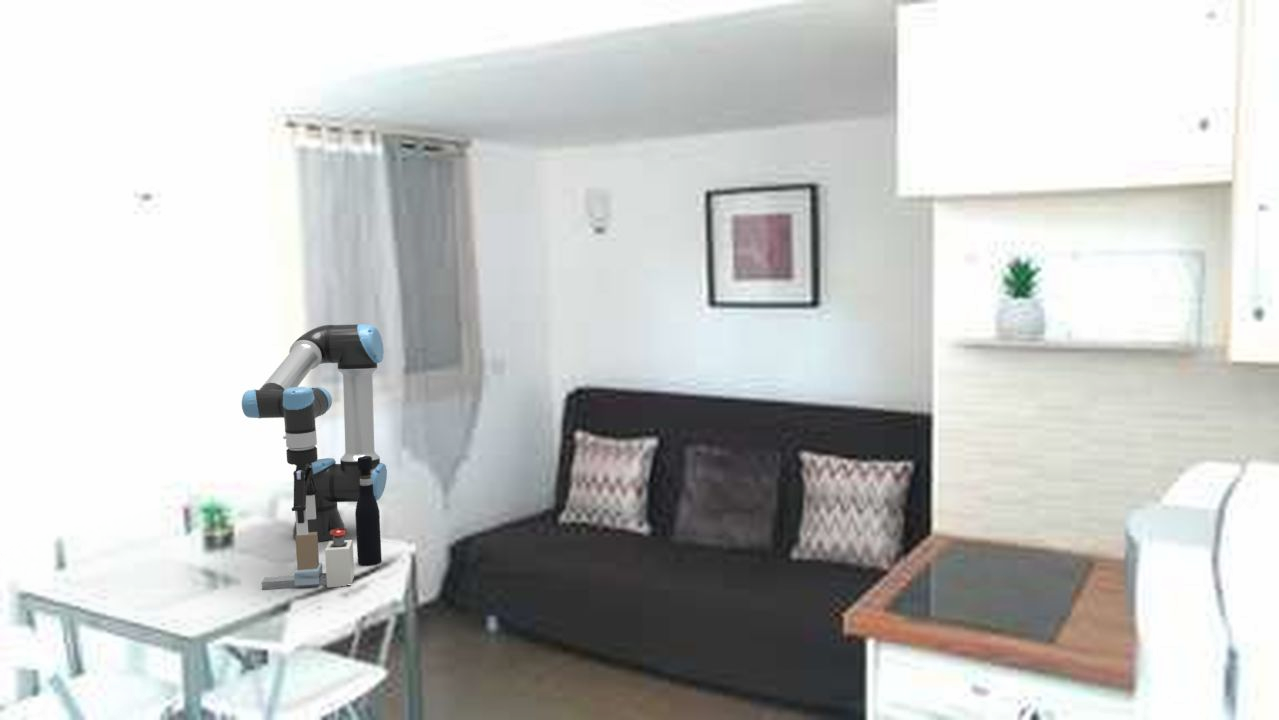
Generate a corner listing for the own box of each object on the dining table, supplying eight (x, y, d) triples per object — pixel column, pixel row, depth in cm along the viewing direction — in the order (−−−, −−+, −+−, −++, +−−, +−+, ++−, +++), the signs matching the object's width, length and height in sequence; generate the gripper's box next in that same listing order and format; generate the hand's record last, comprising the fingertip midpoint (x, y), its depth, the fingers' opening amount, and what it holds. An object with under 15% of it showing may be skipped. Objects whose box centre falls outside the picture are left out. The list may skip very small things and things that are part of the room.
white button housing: (331, 577, 263) (329, 541, 262) (354, 575, 264) (352, 539, 263) (327, 587, 255) (325, 550, 254) (350, 585, 256) (349, 548, 255)
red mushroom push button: (332, 554, 261) (331, 528, 260) (348, 553, 261) (346, 527, 261) (330, 558, 257) (329, 532, 256) (346, 557, 257) (345, 531, 257)
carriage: (299, 576, 261) (296, 531, 260) (322, 575, 262) (320, 529, 261) (294, 585, 254) (292, 538, 253) (318, 583, 256) (316, 537, 254)
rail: (265, 584, 259) (264, 577, 258) (330, 580, 261) (329, 572, 261) (261, 589, 255) (261, 582, 254) (328, 585, 257) (327, 577, 257)
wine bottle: (357, 567, 272) (352, 460, 268) (357, 560, 278) (352, 455, 274) (381, 564, 273) (376, 458, 270) (381, 557, 280) (376, 454, 276)
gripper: (294, 437, 266) (299, 513, 269) (277, 459, 242) (283, 542, 244) (323, 436, 267) (328, 512, 270) (309, 457, 243) (314, 540, 246)
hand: (306, 526), depth 257 cm, fingers open, 13 cm apart
